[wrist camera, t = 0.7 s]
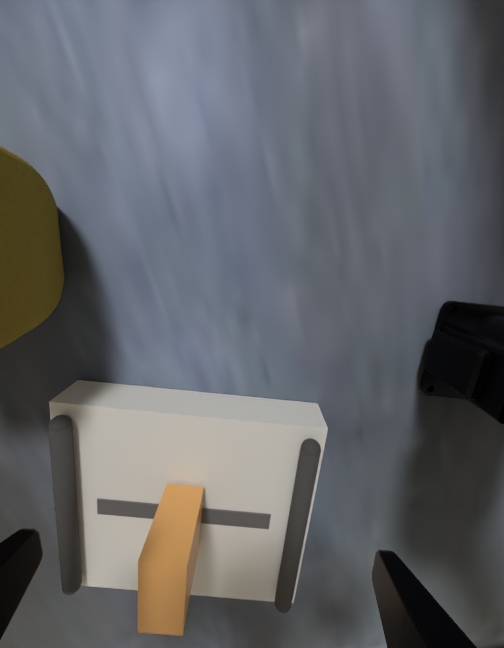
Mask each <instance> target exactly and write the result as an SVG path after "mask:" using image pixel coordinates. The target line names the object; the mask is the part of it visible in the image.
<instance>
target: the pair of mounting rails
mask: <svg viewBox="0 0 504 648" xmlns="http://www.w3.org/2000/svg"><path fill="white" fill-rule="evenodd" d="M48 432H49V444H50V455H51V467H52V478H53V490H54V501H55V513H56V524H57V536H58V547H59V559H60V570H61V582H62V590H63V592H64V593H65V594H66V595H71V594H74V593H75V592H76V591H77V590H78V589H79V588H80V586H81V583H82V571H81V555H80V539H79V523H78V507H77V491H76V475H75V459H74V442H73V426H72V420H71V418H70V417H69V416H67V415H58V416H55V417H54V418H53V419H52V420H51V421H50V422H49V425H48ZM320 454H321V447H320V444H319V443H318V442H317V441H316V440H315V439H312V438H309V439H306V440H304V441H303V443H302V444H301V449H300V455H299V460H298V466H297V472H296V478H295V484H294V490H293V495H292V501H291V507H290V513H289V519H288V525H287V530H286V536H285V542H284V548H283V554H282V560H281V565H280V571H279V577H278V583H277V589H276V595H275V606H276V608H277V609H278V611H279V612H281V613H286V612H288V611H289V610H290V608H291V604H292V599H293V594H294V588H295V583H296V578H297V573H298V568H299V563H300V557H301V552H302V547H303V542H304V537H305V531H306V526H307V521H308V516H309V511H310V506H311V500H312V495H313V490H314V485H315V480H316V474H317V469H318V464H319V459H320Z"/></svg>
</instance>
